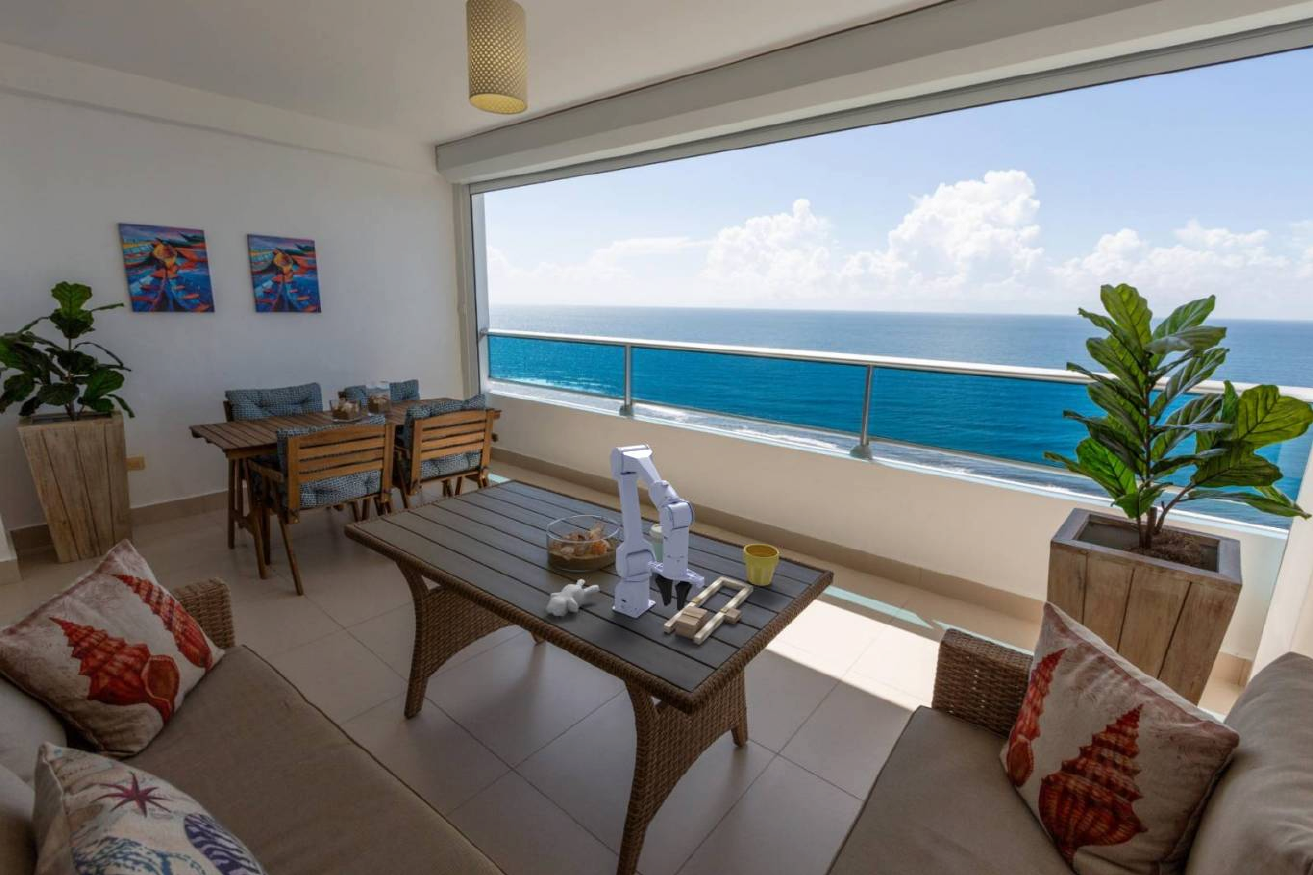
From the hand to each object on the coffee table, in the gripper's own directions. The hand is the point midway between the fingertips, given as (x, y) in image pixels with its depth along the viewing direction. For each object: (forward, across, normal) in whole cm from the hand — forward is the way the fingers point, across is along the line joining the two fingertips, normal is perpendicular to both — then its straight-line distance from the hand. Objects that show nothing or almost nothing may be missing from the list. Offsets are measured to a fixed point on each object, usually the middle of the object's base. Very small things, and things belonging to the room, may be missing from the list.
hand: (674, 606), depth 130 cm
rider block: (+11, 0, -9) cm, 14 cm away
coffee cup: (+11, +26, -36) cm, 46 cm away
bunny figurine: (+11, +32, 0) cm, 34 cm away
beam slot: (+10, -1, -20) cm, 22 cm away
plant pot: (+11, -4, -43) cm, 44 cm away
